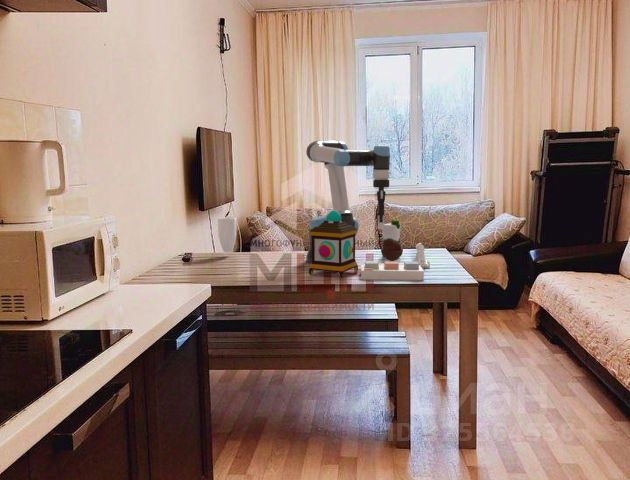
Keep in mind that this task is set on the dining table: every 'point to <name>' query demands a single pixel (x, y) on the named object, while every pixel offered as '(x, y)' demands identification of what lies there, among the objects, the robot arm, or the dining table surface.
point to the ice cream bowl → (391, 249)
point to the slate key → (411, 265)
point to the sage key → (372, 264)
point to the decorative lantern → (333, 245)
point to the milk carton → (392, 231)
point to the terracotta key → (391, 265)
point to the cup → (227, 232)
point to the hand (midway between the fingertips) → (380, 228)
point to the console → (392, 273)
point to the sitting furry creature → (421, 256)
